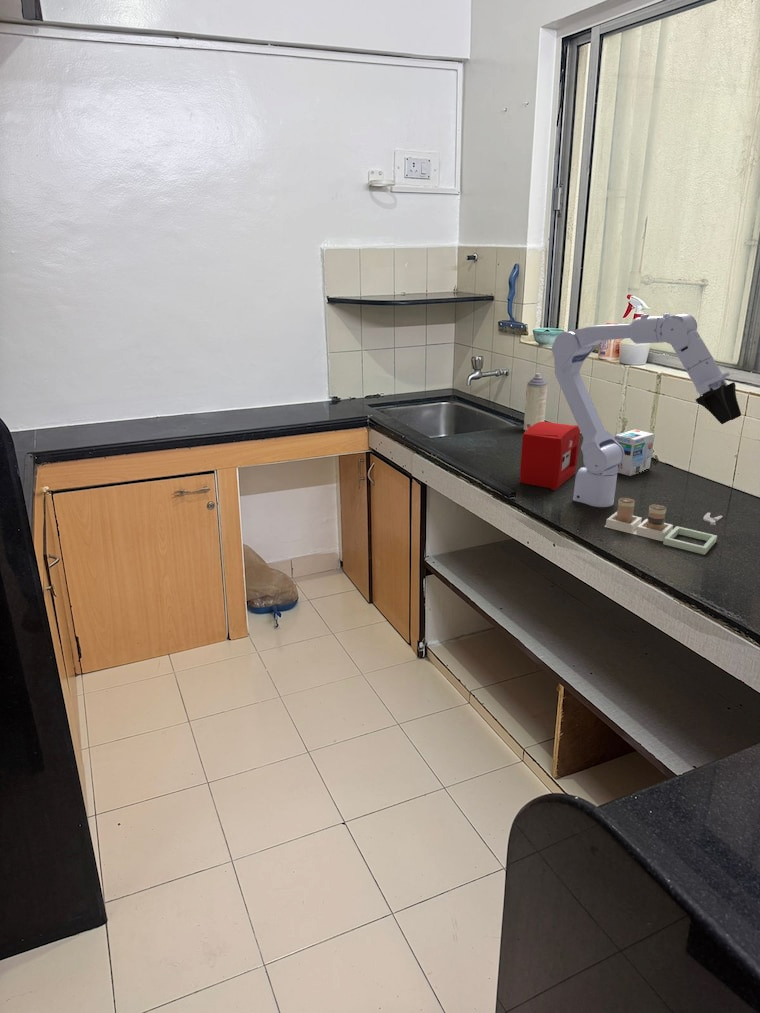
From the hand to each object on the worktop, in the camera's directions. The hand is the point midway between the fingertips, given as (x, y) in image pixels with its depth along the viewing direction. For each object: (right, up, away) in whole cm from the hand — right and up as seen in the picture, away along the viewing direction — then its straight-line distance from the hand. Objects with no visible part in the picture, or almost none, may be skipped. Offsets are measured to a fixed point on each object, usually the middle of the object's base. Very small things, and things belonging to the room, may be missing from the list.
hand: (731, 419), depth 147 cm
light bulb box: (-2, -8, +55) cm, 55 cm away
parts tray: (-7, -27, +4) cm, 28 cm away
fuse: (-18, -23, +14) cm, 32 cm away
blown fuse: (-13, -24, +10) cm, 29 cm away
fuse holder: (-15, -24, +12) cm, 31 cm away
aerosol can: (-21, +8, +95) cm, 98 cm away
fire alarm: (-28, -11, +47) cm, 56 cm away
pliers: (+1, -24, +14) cm, 28 cm away
